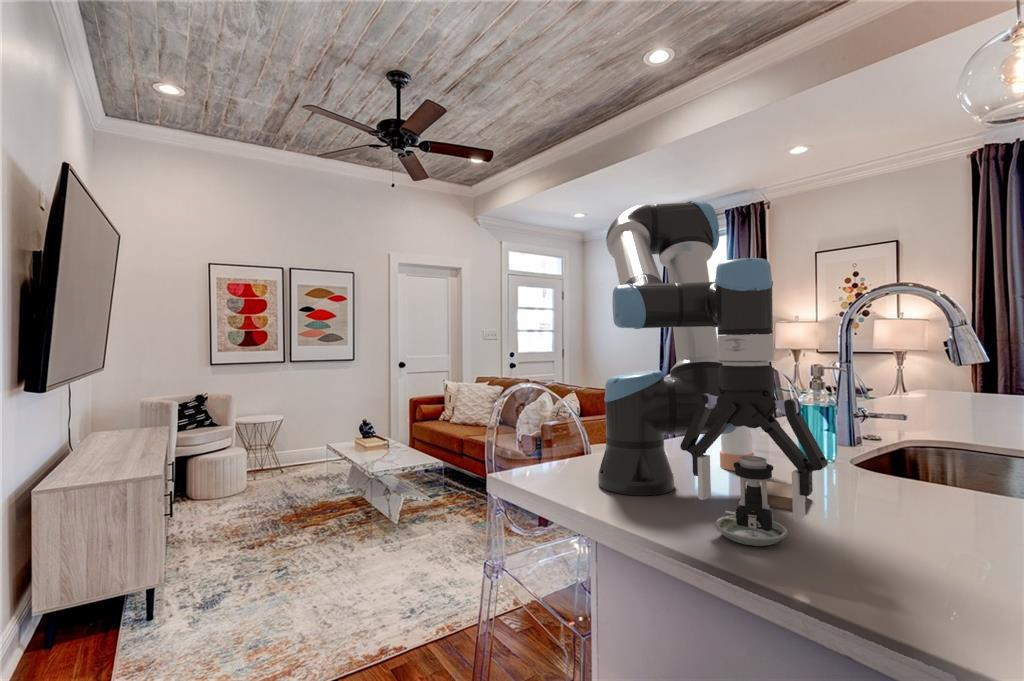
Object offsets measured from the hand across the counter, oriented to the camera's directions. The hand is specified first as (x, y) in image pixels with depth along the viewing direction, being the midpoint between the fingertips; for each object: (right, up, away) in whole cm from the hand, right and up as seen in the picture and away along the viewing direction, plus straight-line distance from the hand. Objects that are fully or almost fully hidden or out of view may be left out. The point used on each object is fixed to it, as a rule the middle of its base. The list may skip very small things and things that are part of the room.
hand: (748, 507), depth 75 cm
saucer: (0, -5, 0) cm, 5 cm away
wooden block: (+13, -5, +18) cm, 23 cm away
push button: (0, -3, 0) cm, 3 cm away
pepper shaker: (+17, -5, +42) cm, 45 cm away
